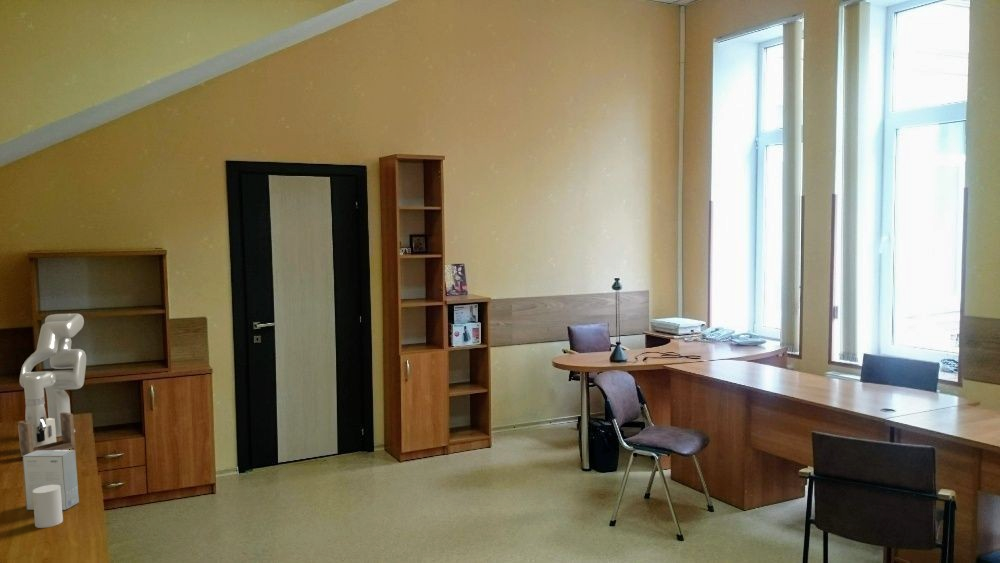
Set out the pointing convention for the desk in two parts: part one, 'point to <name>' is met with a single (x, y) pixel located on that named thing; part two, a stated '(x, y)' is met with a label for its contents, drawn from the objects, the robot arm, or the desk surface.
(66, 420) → the door frame
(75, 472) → the hard drive box
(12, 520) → the desk surface
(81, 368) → the robot arm
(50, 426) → the door panel
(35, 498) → the white cylinder
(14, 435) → the desk surface
